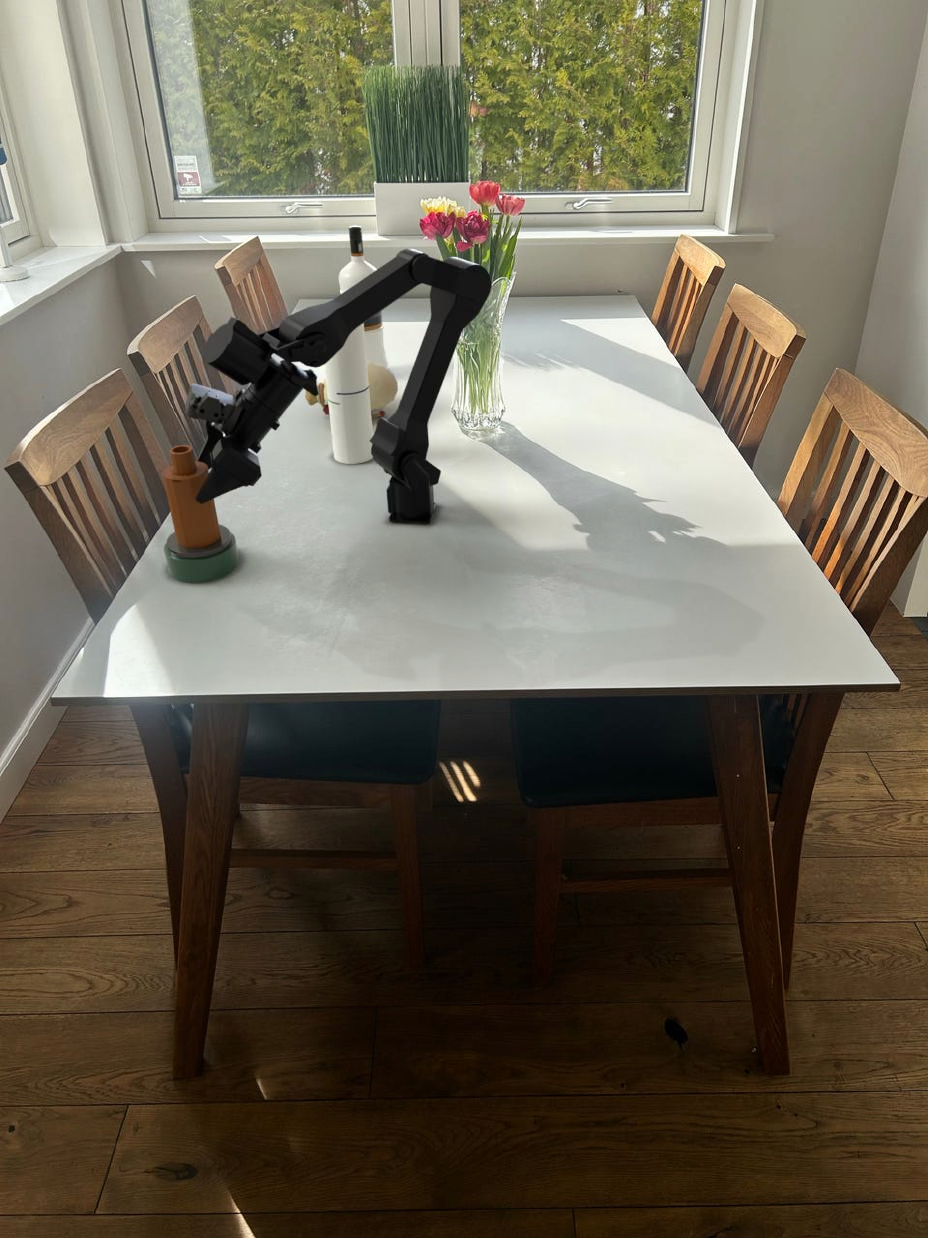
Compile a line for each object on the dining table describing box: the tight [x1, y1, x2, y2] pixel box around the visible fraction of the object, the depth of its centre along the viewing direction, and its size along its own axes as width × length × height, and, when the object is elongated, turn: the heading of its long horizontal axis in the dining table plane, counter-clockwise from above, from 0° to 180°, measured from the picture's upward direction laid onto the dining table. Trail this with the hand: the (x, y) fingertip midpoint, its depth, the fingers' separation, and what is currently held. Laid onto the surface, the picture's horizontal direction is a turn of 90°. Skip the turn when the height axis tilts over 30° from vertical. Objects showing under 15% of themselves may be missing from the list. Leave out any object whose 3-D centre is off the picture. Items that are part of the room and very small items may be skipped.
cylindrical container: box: [323, 323, 374, 465], centre depth 161 cm, size 7×7×25 cm
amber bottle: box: [161, 444, 220, 548], centre depth 131 cm, size 6×6×14 cm
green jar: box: [163, 524, 240, 584], centre depth 136 cm, size 10×10×4 cm
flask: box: [304, 364, 399, 419], centre depth 182 cm, size 9×16×18 cm
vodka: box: [338, 225, 389, 370], centre depth 195 cm, size 9×9×30 cm
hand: (196, 487), depth 130 cm, fingers open, 9 cm apart
